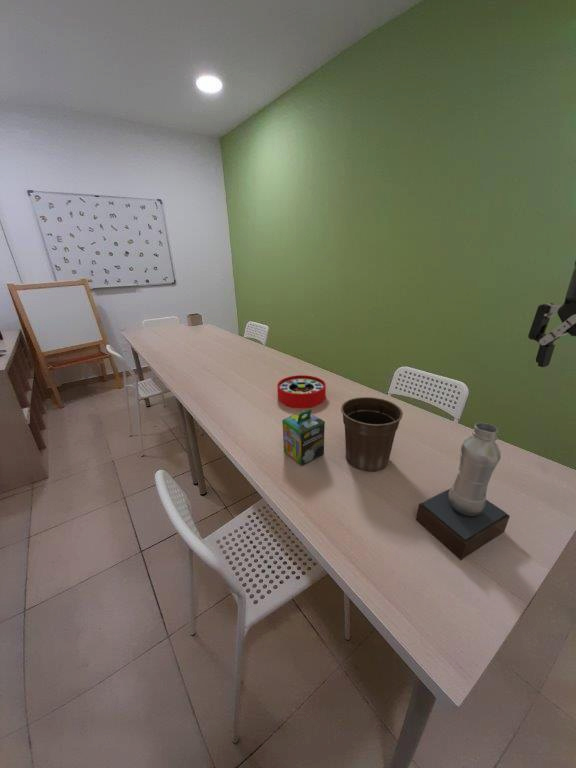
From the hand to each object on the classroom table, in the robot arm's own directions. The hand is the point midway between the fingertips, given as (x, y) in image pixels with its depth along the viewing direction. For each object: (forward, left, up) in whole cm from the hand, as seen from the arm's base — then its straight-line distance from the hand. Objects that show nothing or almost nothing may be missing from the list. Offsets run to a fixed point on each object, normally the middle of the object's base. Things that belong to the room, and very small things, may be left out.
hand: (573, 373), depth 49 cm
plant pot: (+10, -35, -37) cm, 51 cm away
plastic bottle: (+8, -7, -32) cm, 33 cm away
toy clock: (+7, -80, -37) cm, 88 cm away
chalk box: (+25, -46, -37) cm, 64 cm away
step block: (+8, -7, -37) cm, 38 cm away
